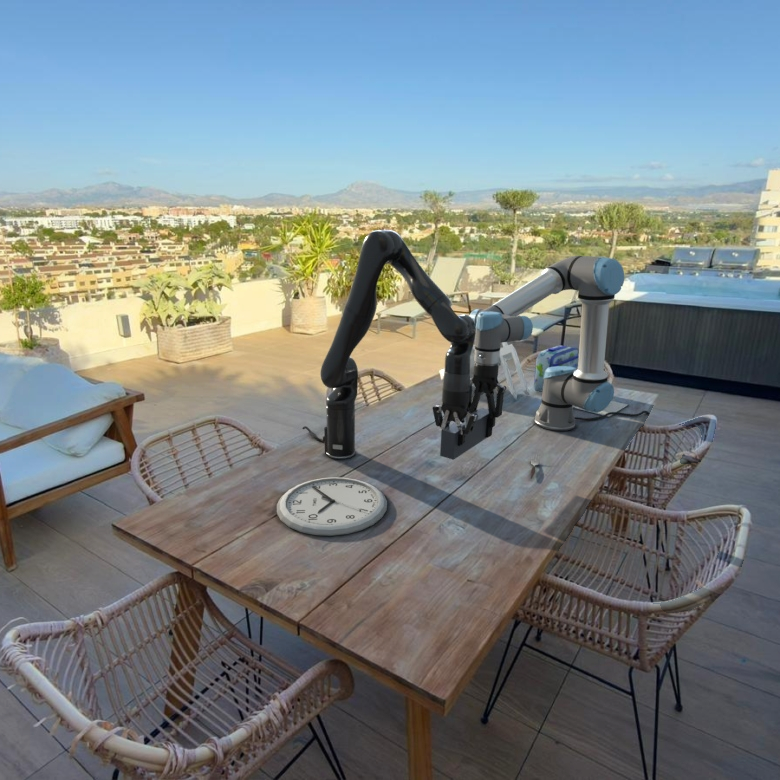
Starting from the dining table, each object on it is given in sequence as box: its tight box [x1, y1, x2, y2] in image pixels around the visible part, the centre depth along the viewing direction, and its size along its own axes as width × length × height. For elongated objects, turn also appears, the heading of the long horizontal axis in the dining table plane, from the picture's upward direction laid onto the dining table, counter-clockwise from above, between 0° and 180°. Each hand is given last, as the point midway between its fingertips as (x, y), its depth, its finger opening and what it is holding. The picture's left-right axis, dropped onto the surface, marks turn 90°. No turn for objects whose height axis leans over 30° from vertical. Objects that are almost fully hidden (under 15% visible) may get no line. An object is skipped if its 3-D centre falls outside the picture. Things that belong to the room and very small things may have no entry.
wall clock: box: [276, 476, 388, 537], centre depth 142 cm, size 30×2×30 cm
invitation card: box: [573, 400, 629, 418], centre depth 226 cm, size 21×1×15 cm
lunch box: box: [533, 345, 579, 393], centre depth 245 cm, size 26×11×21 cm, turn 135°
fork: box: [530, 454, 541, 480], centre depth 166 cm, size 3×16×2 cm, turn 160°
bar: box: [439, 407, 489, 461], centre depth 158 cm, size 24×4×8 cm, turn 143°
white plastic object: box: [438, 342, 531, 400], centre depth 245 cm, size 37×45×31 cm
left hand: (452, 442), depth 152 cm, fingers closed on bar, 4 cm apart
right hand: (481, 434), depth 166 cm, fingers closed on bar, 4 cm apart
